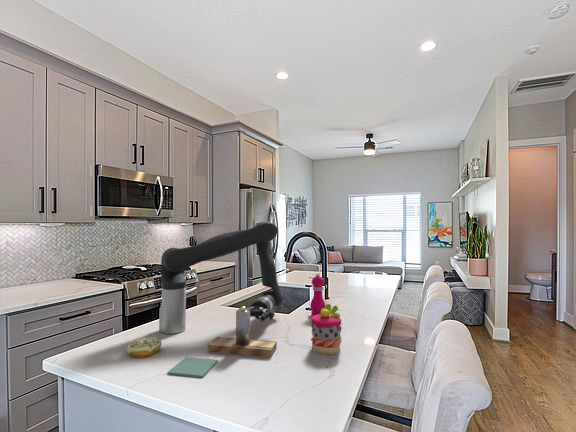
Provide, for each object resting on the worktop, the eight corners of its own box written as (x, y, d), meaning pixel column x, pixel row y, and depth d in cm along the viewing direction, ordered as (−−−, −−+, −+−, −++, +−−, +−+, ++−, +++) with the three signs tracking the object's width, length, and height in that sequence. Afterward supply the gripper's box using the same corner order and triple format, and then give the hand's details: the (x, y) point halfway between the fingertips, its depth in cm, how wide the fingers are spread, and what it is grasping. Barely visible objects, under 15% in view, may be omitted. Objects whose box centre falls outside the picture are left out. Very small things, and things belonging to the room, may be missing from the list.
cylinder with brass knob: (233, 344, 111) (234, 307, 112) (238, 340, 116) (238, 304, 116) (247, 346, 110) (247, 308, 111) (251, 341, 115) (252, 304, 115)
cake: (339, 357, 108) (339, 311, 109) (307, 353, 111) (308, 308, 112) (343, 345, 118) (343, 303, 119) (314, 342, 121) (314, 301, 122)
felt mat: (167, 374, 95) (167, 372, 95) (186, 358, 106) (186, 356, 106) (202, 377, 93) (203, 375, 93) (218, 361, 104) (218, 359, 104)
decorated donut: (121, 359, 106) (121, 347, 106) (134, 346, 116) (134, 335, 116) (155, 358, 106) (155, 346, 106) (165, 346, 117) (165, 335, 117)
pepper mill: (324, 317, 153) (324, 274, 154) (309, 316, 155) (309, 274, 155) (326, 313, 160) (326, 272, 161) (311, 312, 162) (311, 271, 162)
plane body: (207, 352, 111) (207, 344, 111) (217, 343, 119) (217, 336, 119) (271, 357, 107) (271, 349, 107) (276, 348, 115) (276, 340, 115)
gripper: (245, 297, 139) (232, 306, 123) (278, 299, 137) (269, 309, 121) (245, 315, 139) (232, 327, 123) (278, 317, 136) (269, 329, 120)
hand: (250, 318), depth 122 cm, fingers open, 8 cm apart
